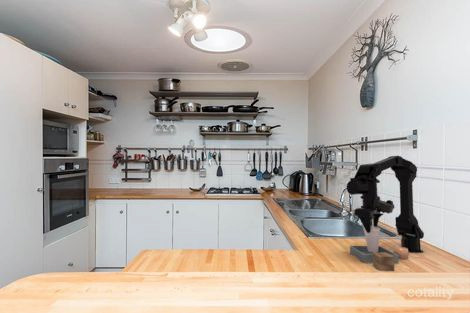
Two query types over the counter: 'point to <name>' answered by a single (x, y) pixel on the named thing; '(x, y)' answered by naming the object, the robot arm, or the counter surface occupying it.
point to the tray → (370, 253)
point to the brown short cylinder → (401, 252)
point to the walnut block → (383, 261)
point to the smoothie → (372, 238)
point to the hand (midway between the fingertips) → (371, 231)
